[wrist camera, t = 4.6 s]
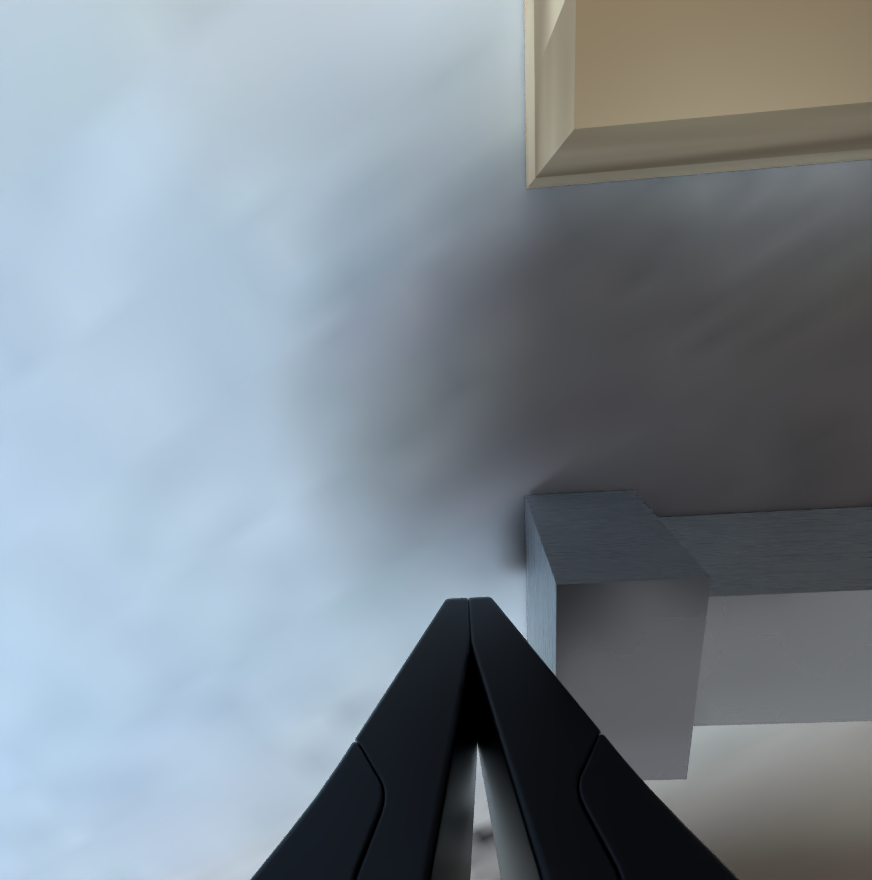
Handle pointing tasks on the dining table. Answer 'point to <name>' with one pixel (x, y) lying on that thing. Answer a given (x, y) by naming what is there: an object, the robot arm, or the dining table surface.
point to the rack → (693, 87)
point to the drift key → (699, 618)
